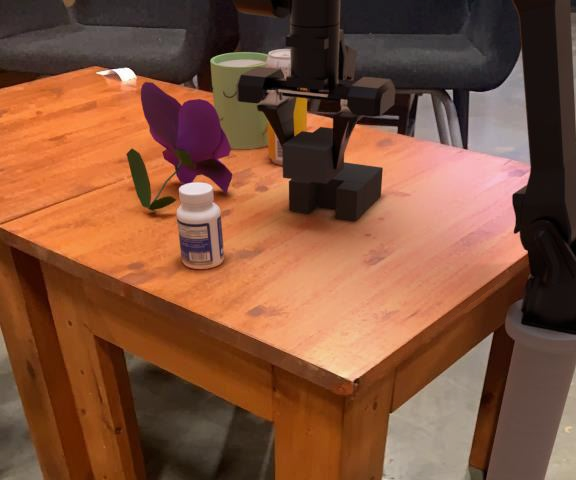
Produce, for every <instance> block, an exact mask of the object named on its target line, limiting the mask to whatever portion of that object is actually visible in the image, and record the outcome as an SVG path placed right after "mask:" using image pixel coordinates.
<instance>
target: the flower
mask: <svg viewBox="0 0 576 480" xmlns="http://www.w3.org/2000/svg"><path fill="white" fill-rule="evenodd" d="M140 101H141V107H142V111H143V115H144V119H145V120H146V122H147V125H148V127H149V128H148V129H149V134H150V135H151V137H152V138H153V140H154V141H155V143H156V142H157V143H158V144H159V145H160V146H162V147H163V148H164V150H162V151H161V153H162V156H163V159H164V160H165V161H166V162H168V163H170V164H171V165H172V166H173V167H174V170H175V171H174V172H173V173H172V174H171V175H170V176H168V178H167V179H166V180H165V181H164V182H163V184H162V186H161V188H160V189H159V191H158V193H157V195H156V196H155V198H154V199H153V200H152V188H151V182H150V181H151V180H150V177H149V175H148V172H147V171H148V170H147V167H146V164H145V162H144V160H143V157H142V156H141V154H140V152H139V151H138V150H136V149H134V148H133V147H132V148H130V149H129V151H127V152H126V158H127V161H128V166H129V170H130V175H131V178H132V181H133V186H134V190H135V193H136V195H137V198H138V200H139V202H140V204H141V206H142V207H143V208H146V209H148V210H149V211H151V212H154V213H157V211H156V210H160V209H163V208H166V207H168V206H171V205H172V204H174V203H175V202H177V199H176V198H175V197H174V196H168V195H167V196H163V197H160V195H161V194H162V191H163V190H164V188H165V187H166V184H167V183H168V182H171V179H172V178H173V177H174V176H175V175H176V177H177V179H178V181H179V183H181V184H184V185H185V184H188V183H194V180H195V179H196V178H197V176H204V177H206V178H208V179H210V180H211V181H212V182H213V183H214V184H215V185H216V186H217V187H218V188H220V190H221V191H222V192H223V193H224V194H228V191H229V187H230V184H231V182H232V179H233V173H232V172H231V171H230V169H229V168H228V167H227V166H226V165H225V163H223V162H222V161H221V160H220V159H223V158H225V157H229V156H230V153H231V151H232V148H231V147H230V144H229V142H228V139H227V136H226V134H225V133H224V131H223V130H222V128H221V126H220V121H219V116H218V114H217V111H216V110H215V108H214V104H212V103H210V101H208V100H205V99H201V98H197V99H188V100H186V101H184V102H183V103H182V104H181V103H180V101H178V99H176V98H175V97H173V96H171V95H170V94H168V93H166V92H165V91H164V90H163V89H161V88H160V87H159V86H157V84H155V83H154V82H151V81H145V82H143V84H142V85H141V89H140ZM159 197H160V198H159Z"/></svg>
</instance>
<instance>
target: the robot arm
mask: <svg viewBox="0 0 576 480" xmlns="http://www.w3.org/2000/svg"><path fill="white" fill-rule="evenodd" d="M231 1H232V3H233V6H234V7H235V9H236V10H237V11H238V12H240V14H247V15H252V16H253V15H254V16H261V17H267V18H276V19H285V18H286V17H288V16H289V22H290V23H289V34H287V35H285V47H287V48H289V49H290V59H291V75H289V76H287V77H286V78H284V74H283V72H282V70H281V69H277V68H266V67H255V68H253V69H251V70H249V71H247V72H245V73H243V74H242V75H240V77H239V78H238V81H237V84H236V92H237V100H238V101H239V102H247V103H256V104H258V103H259V102H260V104H259V105H257V110H258V111H261V112H263V113H264V114H265V116H266V118H267V120H268V121H269V123H270V125H271V127H272V128H273V130H274V132H275V134H276V136H277V138H278V140H279V143H280V145H281V147H282V145H283V144H284V143H286V142H287V141H288V140H290V139H291V138H293V137H294V136H295V135H294V109H295V104H296V99H297V97H299V98H307V100H308V99H309V100H318V101H326V102H337V103H339V104H340V110H339V111H337V112H336V113H334V114H333V115H332V128H333V165H334V169H338V168H339V167H340V164H341V161H342V159H343V156H344V157H345V153H346V149H347V147H348V144H349V141H350V139H351V136H352V133H353V131H354V129H355V127H356V125H357V123H358V121H360V120H361V119H362V118H364V117H372V118H373V117H380V116H382V115H383V114H385V113H386V112H387V111H388V110H389V109H391V108H392V107H393V106H394V105H395V101H396V100H395V99H396V87H395V84H394V83H393V81H392V79H391V78H381V77H371V76H363V77H361V78H360V79H358V80H357V81H355V82H354V83H352V84H346V83H339V81H354V77H355V71H356V65H357V56H358V50H356V49H354V48H352V47H351V46H348V45H346V44H345V33H344V29H341V0H231ZM511 1H512V3H513V6H514V7H515V10H516V12H517V15H518V21H519V37H520V48H521V61H522V74H523V75H522V76H523V88H524V89H523V90H524V99H525V101H524V102H525V114H526V127H527V128H526V129H527V140H528V141H527V142H528V152H529V153H528V154H529V167H530V168H529V176H528V180H527V182H526V183H527V184H526V185H524V186H522V187H521V188H520V189H518V190H517V191H515V192H514V193H513V194H512V195H511V201H512V202H511V204H512V208H513V212H514V216H515V223H514V224H515V225H514V229H513V234H514V235H516V234H518V233H519V240H520V244H521V246H522V248H523V249H524V251H527V258H528V265H529V271H530V272H529V273H530V274H529V275H528V277H527V279H526V284H525V288H524V293H523V298H522V299H523V302H522V307H521V312H522V313H524V315H523V317H522V319H521V324H523V325H527V326H532V327H537V328H542V329H547V330H552V331H557V332H563V333H568V334H573V335H576V100H575V81H574V77H575V76H574V61H573V59H574V57H573V56H574V55H573V37H572V36H573V35H572V34H573V33H572V15H571V0H511ZM300 88H302V90H300ZM303 88H305V89H307V90H303Z"/></svg>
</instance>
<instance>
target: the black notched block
mask: <svg viewBox="0 0 576 480" xmlns="http://www.w3.org/2000/svg"><path fill="white" fill-rule="evenodd" d="M383 168H384V167H382V166H373V165H367V164H360V163H352V162H345V161H344V169H343V170H342V171H341V172H340V173H338V174H337V175H336V176H335V177H334V178H333V179H331V180H330V181H329V182H328V183H327V184H322V183H315V182H308V181H302V180H295V179H289V181H288V210H289V211H291V212H296V213H302V214H308V215H309V214H310V213H311V212H312V211H313V210H315V209H316V208H317V207H321V208H326V209H327V208H328V209H334V210H335V218H336V219H341V220H347V221H353V222H357V221H358V220H359V219H360V218H361V217H362V216H363V215H364V214H365V213H366V212H367V211H368V210H369V209H370V208H371V207H372V206H373V204H375V203H376V202H377V201H378V200H379V199H380V198H381V197H382V186H383V184H382V183H383V172H384V171H383V170H384V169H383Z"/></svg>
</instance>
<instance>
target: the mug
mask: <svg viewBox="0 0 576 480" xmlns="http://www.w3.org/2000/svg"><path fill="white" fill-rule="evenodd" d="M267 58H268V54H267V53H261V52H251V51H240V52H228V53H222V54H219V55H216V56H213V57H212V58H210V73H211V82H210V84H209V91H210V92H212V102H213V107H214V108H215V110H216V111H217V114H218V116H219V121H220V126H221V128H222V130H223V131H224V133H225V134H226V136H227V139H228V142H229V144H230V147H231V150H232V149H233V150H254V149H260V148H261V149H262V148H265V147H267V146H268V120H267V118H266V116H265V114H264V113H263V112H261V111H258V110H257V105H259V104H260V102H259V103H258V104H256V103H247V102H239V101H238V100H237V92H236V84H237V81H238V78H239V77H240V75H242V74H243V73H245V72H247V71H249V70H251V69H253V68H255V67H266V60H267Z"/></svg>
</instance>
